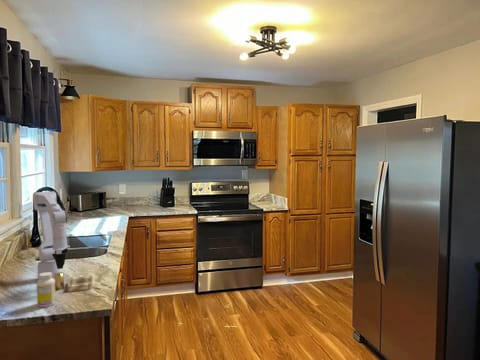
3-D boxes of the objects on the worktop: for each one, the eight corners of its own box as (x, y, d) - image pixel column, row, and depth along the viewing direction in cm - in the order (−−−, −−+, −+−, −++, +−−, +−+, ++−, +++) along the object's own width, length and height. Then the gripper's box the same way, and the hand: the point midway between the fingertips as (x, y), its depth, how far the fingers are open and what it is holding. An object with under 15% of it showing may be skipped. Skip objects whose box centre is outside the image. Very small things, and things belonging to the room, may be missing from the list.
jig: (67, 291, 160) (67, 286, 160) (69, 283, 171) (69, 278, 171) (91, 289, 164) (91, 283, 164) (92, 280, 175) (92, 275, 175)
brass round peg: (53, 290, 162) (53, 275, 161) (54, 287, 165) (54, 272, 165) (63, 289, 163) (63, 274, 163) (64, 286, 167) (64, 271, 166)
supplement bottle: (46, 300, 151) (45, 270, 150) (59, 302, 149) (58, 272, 148) (33, 306, 145) (32, 275, 144) (46, 308, 143) (45, 277, 142)
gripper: (68, 238, 159) (69, 269, 159) (70, 234, 172) (71, 262, 172) (50, 240, 156) (51, 271, 156) (53, 235, 170) (55, 264, 170)
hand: (61, 266), depth 164 cm, fingers open, 7 cm apart
